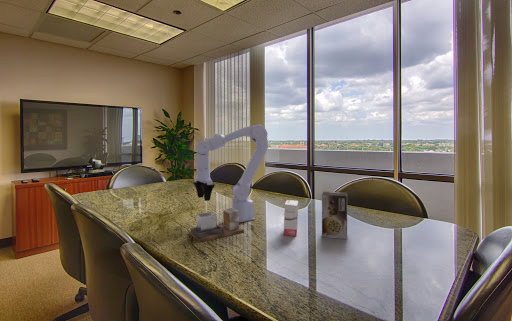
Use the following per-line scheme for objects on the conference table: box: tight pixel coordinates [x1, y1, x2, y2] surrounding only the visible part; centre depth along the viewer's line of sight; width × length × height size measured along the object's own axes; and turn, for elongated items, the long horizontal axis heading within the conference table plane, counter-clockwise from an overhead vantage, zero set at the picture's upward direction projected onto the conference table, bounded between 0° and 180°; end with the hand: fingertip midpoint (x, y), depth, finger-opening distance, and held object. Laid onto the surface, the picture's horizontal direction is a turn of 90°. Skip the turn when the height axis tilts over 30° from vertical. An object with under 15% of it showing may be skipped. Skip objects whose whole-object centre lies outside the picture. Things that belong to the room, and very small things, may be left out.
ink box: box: [283, 199, 299, 237], centre depth 105 cm, size 9×5×12 cm, turn 168°
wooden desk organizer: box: [188, 207, 245, 243], centre depth 105 cm, size 19×11×8 cm, turn 123°
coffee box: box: [321, 191, 348, 240], centre depth 101 cm, size 9×6×16 cm
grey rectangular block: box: [196, 211, 218, 233], centre depth 103 cm, size 4×6×7 cm, turn 123°
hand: (203, 198), depth 119 cm, fingers open, 7 cm apart
